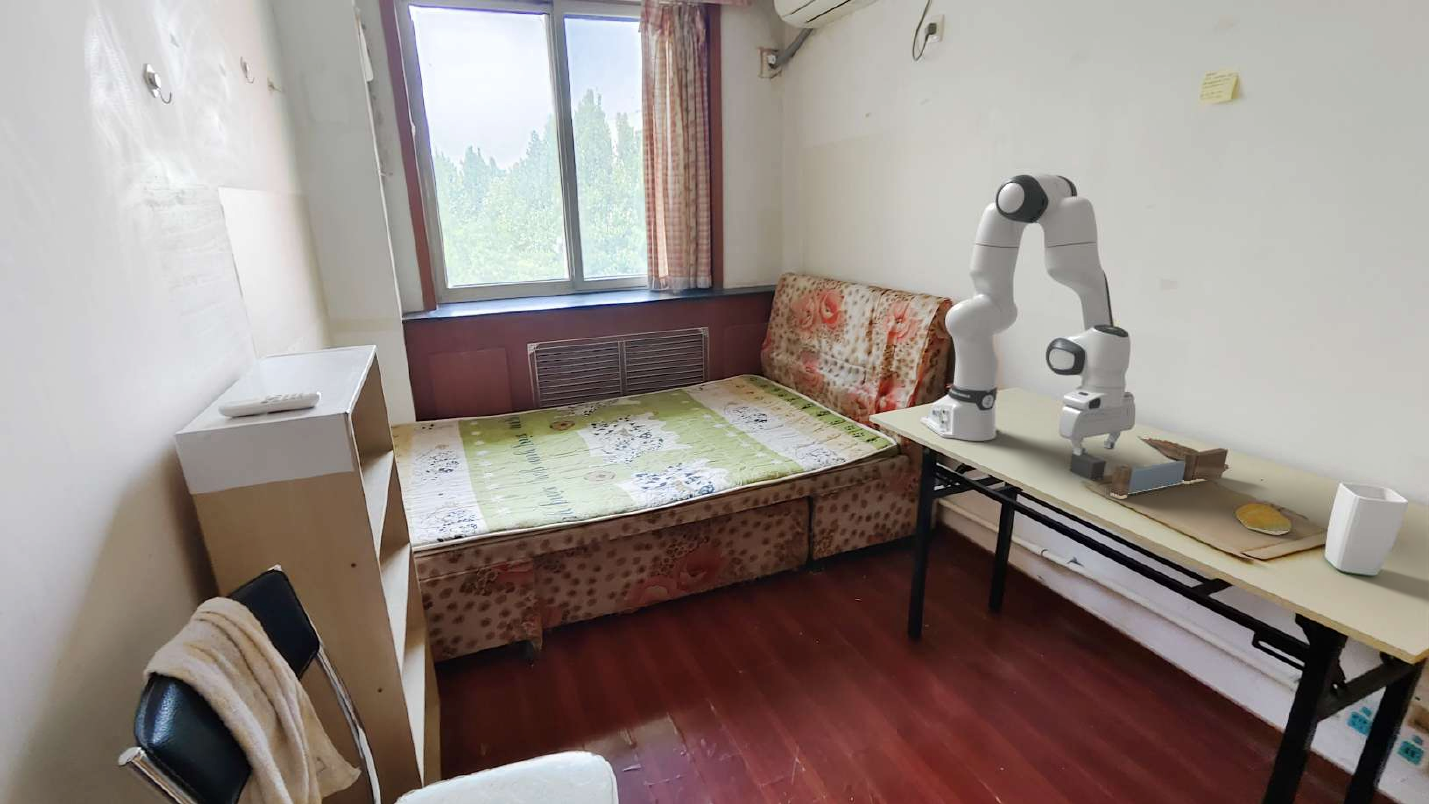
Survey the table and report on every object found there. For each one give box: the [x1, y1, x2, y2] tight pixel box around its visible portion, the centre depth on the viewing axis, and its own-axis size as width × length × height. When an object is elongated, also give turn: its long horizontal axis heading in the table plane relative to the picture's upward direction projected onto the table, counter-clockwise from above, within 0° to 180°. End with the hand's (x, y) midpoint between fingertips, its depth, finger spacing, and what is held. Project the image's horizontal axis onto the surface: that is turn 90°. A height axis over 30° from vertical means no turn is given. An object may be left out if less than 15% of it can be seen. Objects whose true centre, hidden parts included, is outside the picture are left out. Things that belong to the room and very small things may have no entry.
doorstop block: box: [1068, 452, 1107, 481], centre depth 155 cm, size 6×4×4 cm, turn 19°
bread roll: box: [1235, 503, 1292, 532], centre depth 129 cm, size 8×9×4 cm
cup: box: [1324, 482, 1410, 577], centre depth 112 cm, size 7×7×15 cm
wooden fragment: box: [1137, 435, 1229, 472], centre depth 168 cm, size 26×11×1 cm, turn 5°
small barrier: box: [1109, 447, 1229, 496], centre depth 147 cm, size 2×33×7 cm, turn 109°
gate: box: [1128, 460, 1186, 493], centre depth 146 cm, size 1×17×6 cm, turn 109°
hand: (1093, 451), depth 153 cm, fingers open, 8 cm apart
